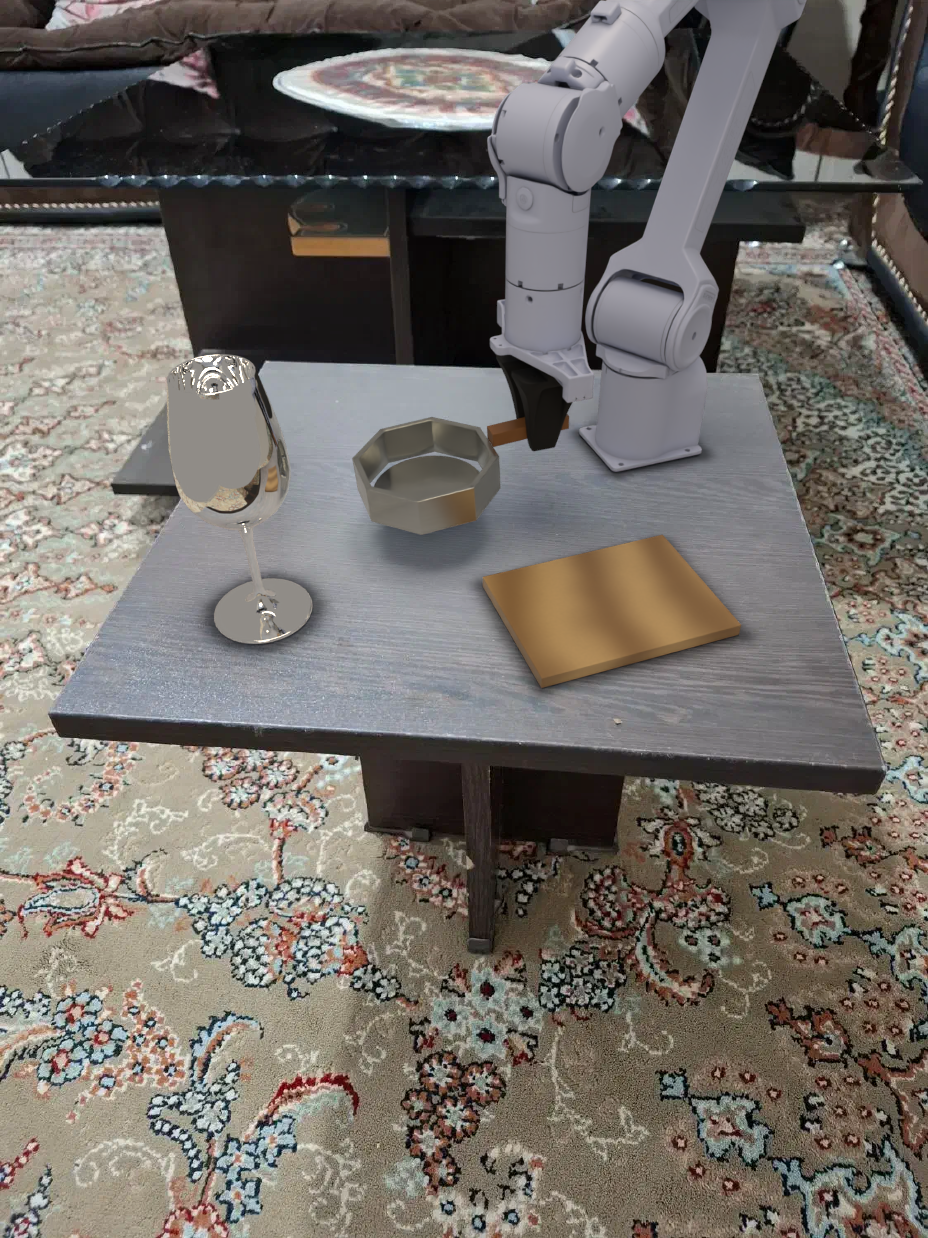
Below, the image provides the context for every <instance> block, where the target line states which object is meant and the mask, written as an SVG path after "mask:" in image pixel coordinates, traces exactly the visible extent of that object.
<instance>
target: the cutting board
mask: <svg viewBox="0 0 928 1238" xmlns="http://www.w3.org/2000/svg"><path fill="white" fill-rule="evenodd" d="M482 588H483V590H484V591H485V593H486V595H487V597H488V598H489V600H490V601H491V603H492V605H493V607H494V608H495V610H496V612H497V614H498V616H499V617H500V619H501V621H502V622H503V625H504V626H505V628H506V630H507V631H508V633H509V635H510V636H511V638H512V640H513V642H514V643H515V645H516V647H517V649H518V650H519V652H520V654H521V655H522V657H523V659H524V661H525V662H526V665H527V666H528V668H529V669H530V671H531V673H532V675H533V677H534V678H535V680H536V681H537V683H538V685H539V687H540V689H543V688H547V687H552V686H554V685H559V684H562V683H565V682H570V681H573V680H577V679H581V678H583V677H587V676H591V675H595V674H598V673H603V672H606V671H610V670H614V669H617V668H621V667H625V666H629V665H631V664H632V665H633V664H636V663H640V662H644V661H647V660H651V659H654V658H658V657H662V656H666V655H669V654H673V653H676V652H680V651H684V650H688V649H691V648H695V647H698V646H703V645H706V644H709V643H714V642H716V641H720V640H725V639H729V638H731V637H735V636H736V637H737V636H739V635H740V631H741V628H742V624H741V623H740V622H739V621H738V619H737V618H736V617H735V616H734V615H733V613H732V612H731V611H730V610H729V609H728V608H727V606H725V605H724V603H723V602H722V601H721V600H720V599H719V597H718V596H717V595H716V594H715V593H714V592H713V591H712V590H711V588H710V587H709V586H708V585H707V584H706V583H705V581H704V580H703V579H702V578H701V577H700V575H698V573H697V572H696V571H695V570H694V569H693V568H692V567H691V565H690V564H689V563H688V562H687V561H686V559H685V558H684V557H683V556H682V555H681V554H680V553H679V551H678V550H677V549H676V548H675V547H674V546H673V545H672V543H671V542H670V541H669V540H668V539H667V537H666V536H664V535H663V534H658V535H655V536H651V537H646V538H642V539H637V540H634V541H629V542H624V543H620V544H617V545H612V546H608V547H603V548H600V549H595V550H591V551H586V552H581V553H579V554H574V555H570V556H565V557H561V558H557V559H553V560H549V561H548V560H547V561H544V562H540V563H535V564H530V565H527V566H523V567H518V568H514V569H510V570H506V571H502V572H498V573H492V574H489V575H484V576H482Z"/></svg>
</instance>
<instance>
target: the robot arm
mask: <svg viewBox="0 0 928 1238" xmlns="http://www.w3.org/2000/svg"><path fill="white" fill-rule="evenodd" d="M807 1H808V0H599V1H598V3H596V5H595V6H594V8H593V9H592V10H591V11H590V16H589V17H588V19H587V20H586V21H585V22H584V24H583V25H582V26H581V27H580V29H578V31H577V33H576V34H575V35H574V36H573V38H571V39H570V41H569V42H568V43H567V45H566V46H565V47H564V48H563V50H562V51H561V52H560V53H559V55H558V56H556V58H555V59H554V60H553V62H552V63H551V64H550V65H549V66H548V68H547V69H546V70H545V72H543V74H542V75H541V76H540V77H539V79H538V80H537V83H536V82H533V81H527V82H522V83H521V84H519V85H517V86H516V87H515V88H514V89H513V90H511V91H509V92H508V93H507V94H506V95H505V96H504V97H503V99H502V100H501V101H500V103H499V105H498V107H497V109H496V111H495V115H494V118H493V120H492V121H493V122H492V127H491V134H490V135H489V136H488V137H487V140H486V142H487V143H486V144H487V152H488V157H489V160H490V164H491V165H492V167H493V170H494V171H495V172H496V176H497V179H498V199H501V203H502V205H504V206H505V207H506V208H505V209H506V211H505V213H506V214H505V217H506V218H505V272H504V273H505V274H504V275H505V282H504V283H505V284H504V285H505V287H504V289H505V290H504V299H498V300H497V301H496V305H497V306H496V323H497V325H498V326H499V327H500V328H501V334H499V335H494V336H491V337H490V338H489V347H490V349H491V350H492V352H493V353H494V354H495V359H496V361H497V363H498V364H499V366H500V368H501V370H502V372H503V375H504V377H505V380H506V382H507V385H508V388H509V390H510V391H509V392H510V396H511V399H512V404H513V408H514V409H513V410H514V412H515V413H514V414H515V419H518V418H522V417H525V424H526V434H527V439H526V440H527V443H528V447H529V449H530V450H531V451H532V452H538V451H539V452H540V451H544V450H549V449H554V448H555V447H556V445H557V443H558V440H559V438H560V436H561V433H562V432H561V431H562V430H561V429H562V426H563V423H564V420H565V418H566V415H567V414H568V413H569V411H570V409H571V406H573V405H572V404H573V403H575V402H582V401H585V400H591V399H593V397H594V386H595V375H596V374H595V373H594V372H593V371H592V369H591V368H590V366H589V365H590V364H589V362H588V357H587V356H588V355H587V351H586V345H585V339H584V334H583V331H582V320H583V308H584V307H583V305H584V292H585V276H586V264H587V263H586V262H587V249H588V239H589V237H588V235H589V225H590V223H589V222H590V211H591V210H590V209H591V208H590V207H591V197H592V196H591V194H592V187H594V185H595V184H596V183H597V182H599V181H600V180H601V179H602V178H603V176H604V174H605V172H606V170H607V168H608V166H609V164H610V160H611V157H612V154H613V150H614V146H615V143H616V141H617V139H618V138H619V136H621V130H622V128H623V125H624V124H623V120H622V119H623V118H624V117H625V115H626V114H627V113H628V112H629V110H630V109H631V108H632V107H633V105H634V104H635V102H636V101H637V100H638V99H639V98H640V96H642V94H643V93H644V91H645V90H646V89H647V87H648V86H649V85H650V84H651V82H652V81H653V80H654V78H655V77H656V76H657V75H658V73H660V71H661V69H662V67H663V64H664V62H665V58H666V43H665V37H667V35H669V33H670V32H671V31H672V30H673V29H674V28H676V26H677V25H678V24H679V23H680V22H681V21H682V19H683V18H684V17H685V16H686V15H688V13H689V12H690V11H691V10H692V9H693V8H694V9H695V10H696V11H697V12H699V14H701V15H702V16H703V17H705V18H706V19H707V20H708V21H709V24H710V29H711V34H710V38H709V41H708V43H707V47H706V49H705V53H704V56H703V59H702V62H701V64H700V67H699V71H698V73H697V76H696V80H695V82H694V85H693V88H692V91H691V94H690V97H689V100H688V103H687V105H686V108H685V112H684V115H683V117H682V120H681V122H680V123H681V124H680V125H679V129H678V132H677V134H676V137H675V140H674V144H673V147H672V150H671V153H670V156H669V158H668V160H667V165H666V168H665V170H664V173H663V176H662V179H661V181H660V185H659V188H658V191H657V193H656V197H655V200H654V202H653V205H652V208H651V211H650V214H649V217H648V219H647V223H646V226H645V229H644V231H643V235H642V237H641V238H639V239H638V240H637V241H635V242H632V243H631V244H629V245H627V246H626V247H623V248H622V249H620V250H618V251H617V252H615V253H613V254H612V255H611V256H610V257H609V259H608V262H607V265H606V267H605V269H604V273H603V274H602V276H601V278H600V280H599V282H598V283H597V284H596V286H595V288H594V289H593V291H592V292H591V294H590V297H589V298H588V301H587V305H586V309H585V317H584V323H585V330H586V334H587V337H588V339H589V340H590V342H591V343H593V344H595V345H596V348H595V356H596V357H598V358H600V359H601V360H602V362H601V373H600V383H599V393H598V403H597V415H596V416H597V417H596V424H593V425H588V426H583V427H580V428H579V429H578V435H580V436H581V437H582V438H583V440H584V441H585V442H586V443H587V444H588V445H589V447H590V448H591V449H592V450H593V451H594V452H595V453H596V455H597V456H598V457H599V458H600V459H601V460H602V461H603V462H604V464H605V465H606V466H607V467H608V468H609V469H610V470H611V471H612V472H617V473H618V472H622V471H626V470H631V469H637V468H641V467H645V466H651V465H656V464H659V463H660V464H661V463H665V462H669V461H675V460H678V459H683V458H687V457H692V456H693V457H694V456H697V455H701V454H702V452H703V448H702V447H701V446H700V444H699V441H700V435H701V431H702V424H703V419H704V414H705V408H706V403H707V397H708V388H709V383H708V382H709V381H708V373H707V369H706V366H705V363H704V361H703V359H702V358H701V354H702V352H703V350H704V349H705V346H706V344H707V342H708V339H709V337H710V333H711V329H712V321H713V314H714V309H715V306H716V303H717V299H718V295H719V292H720V289H719V288H720V287H719V286H718V284H717V281H716V279H715V277H714V276H713V274H712V272H711V270H710V269H709V268H708V266H707V264H706V263H705V260H704V259H703V257H702V255H701V251H702V249H703V247H704V243H705V240H706V237H707V235H708V232H709V229H710V227H711V225H712V221H713V218H714V216H715V213H716V211H717V208H718V204H719V202H720V200H721V199H720V198H721V196H722V194H723V191H724V188H725V185H726V183H727V179H728V177H729V174H730V173H731V170H732V166H733V163H734V160H735V158H736V155H737V153H738V150H739V147H740V144H741V142H742V138H743V136H744V133H745V131H746V128H747V124H748V122H749V119H750V117H751V114H752V112H753V108H754V105H755V103H756V100H757V98H758V95H759V92H760V89H761V87H762V84H763V80H764V79H765V75H766V73H767V70H768V68H769V64H770V61H771V59H772V56H773V53H774V51H775V48H776V46H777V43H778V40H779V38H780V35H781V31H782V30H783V29H784V28H785V27H787V26H789V25H791V24H792V23H794V22H796V21H797V20H799V19H800V18H801V17H802V14H803V12H804V9H805V6H806V3H807ZM645 279H647V280H648V279H649V280H654V281H657V282H661V283H665V284H668V285H672V286H675V287H678V288H681V290H682V292H679V291H677V290H674V289H669V288H666V287H663V286H659V285H655V284H653V283H649V282H645V281H642V280H645Z"/></svg>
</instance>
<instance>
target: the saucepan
mask: <svg viewBox="0 0 928 1238" xmlns="http://www.w3.org/2000/svg"><path fill="white" fill-rule="evenodd" d="M568 429H570V416H569V414H568V413H567V415H566V418H565V420H564V423H563V426H562V429H561V431H565V430H568ZM524 440H527V434H526V424H525V417H522V418H518V419H516V418H515V419H510V420H506V421H502V422H498V423H493V424H490V425H487V426H486V434H485V433H484V431H483V429H482V428H481V427H480V426H477V425H471V424H466V423H462V422H458V421H454V420H449V419H444V418H439V417H436V416H435V417H434V416H430V417H425V418H421V419H416V420H412V421H408V422H404V423H399V424H396V425H395V424H394V425H392V426H388V427H382V428H380V429H378V431H377V432H376V433H375V434H374V435H373V436H372V437H371V438H370V439H369V440H368V441H367V443H365V444H364V445H363V447H362V448H361V449H360V450H359V451H357V452H356V454H355V455H354V456H353V457H352V458H351V460H352V465H353V466H352V467H353V471H354V477H355V483H356V487H357V492H358V495H359V496H360V499H361V500H362V503H363V506H364V507H365V511H366V512H367V514H368V515H367V516H368V517H369V519H370V521H371V522H372V523H376V524H380V525H383V526H387V527H390V528H394V529H397V530H402V531H406V532H408V533H413V534H416V535H421V536H423V535H427V534H431V533H435V532H438V531H442V530H446V529H450V528H454V527H458V526H463V525H465V524H466V525H467V524H469V523H472V522H477V521H478V519H479V518H480V516H481V515H482V514H483V512H484V511H485V510H486V508H488V506H489V504H490V503H491V502H492V501H493V499H494V498H495V496H496V495H497V494H498V493H499V491H500V490H501V466H500V465H501V464H500V455H499V453H498V452H497V451H496V449H495V448H497V447H499V446H504V445H508V444H512V443H516V442H521V441H524ZM432 453H438V454H443V455H428V454H432ZM463 459H464V460H463ZM466 460H467V461H472V462H476V463H478V465H479V467H480V468H481V470H478V469H477V468H476V467H475V466H474V465H473V464H471V463H469V462H467V461H466ZM399 461H400V462H399ZM395 462H397V463H395ZM392 463H395V464H393V465H392V466H390V467H389V468H387V469H386V470H385V471H383V470H384V469H385V468H386V467H387V466H388V465H389V464H392ZM382 471H383V473H381V472H382ZM379 474H380V475H379ZM378 476H379V477H378ZM377 477H378V478H377ZM376 478H377V479H376ZM375 479H376V481H375V483H374V485H371V483H372V482H373V481H374V480H375Z"/></svg>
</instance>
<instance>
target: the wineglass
mask: <svg viewBox="0 0 928 1238" xmlns="http://www.w3.org/2000/svg"><path fill="white" fill-rule="evenodd" d="M166 425H167V439H168V440H167V443H168V445H167V446H168V454H169V455H168V456H169V461H170V468H171V473H172V478H173V482H174V484H175V487H176V490H177V492H178V495H179V498H180V499H181V500H182V502H183V503H184V504H185V506H186V508H188V510H189V511H190V512H191V513H192V514H194V515H195V516H196V517H197V518H199V519H200V520H202V521H203V522H205V523H206V524H209V525H211V526H213V527H218V528H221V529H225V530H228V531H229V530H230V531H238V533H239V535H240V538H241V540H242V544H243V547H244V551H245V554H246V560H247V563H248V568H249V572H250V577H251V580H250V581H247V582H245V583H242V584H239V585H238V586H236V587H234V588H232V589H231V590H229V591H228V592H227V593H225V594H224V595H223V596H222V597H221V599H220V600H219V601H218V602H217V604H216V606H215V609H214V611H213V612H214V613H213V622H214V624H215V627H216V629H217V630H218V632H220V634H222V635H223V636H224V637H226V638H227V639H229V640H231V641H234V642H236V643H240V644H247V645H262V644H269V643H273V642H277V641H281V640H283V639H285V638H287V637H289V636H292V634H294V633H296V632H298V631H299V630H300V629H301V628H302V627H303V626H305V624H306V623H308V622H307V621H308V620H309V619H310V617H311V614H312V612H313V606H314V605H313V599H312V597H311V595H310V593H309V592H308V591H307V589H306V588H305V587H304V586H302V585H300V584H299V583H296V582H294V581H291V580H288V579H284V578H276V577H275V578H273V577H271V578H270V577H269V578H268V577H267V578H262V576H261V575H262V574H261V570H260V565H259V562H258V556H257V552H256V547H255V541H254V527H257V526H259V525H261V524H263V523H264V522H266V521H267V520H269V519H270V518H271V517H272V516H273V515H275V514H276V512H278V511H279V510H280V508H281V506H282V504H283V502H284V501H285V499H286V497H287V496H288V493H289V490H290V489H289V488H290V484H291V480H292V470H291V462H290V461H291V459H290V455H289V450H288V447H287V444H286V443H287V442H286V439H285V437H284V434H283V431H282V427H281V426H280V423H279V420H278V417H277V414H276V412H275V409H274V407H273V405H272V402H271V401H270V397H269V395H268V393H267V391H266V389H265V387H264V383H263V382H262V380H261V377H260V375H259V372H258V370H257V368H256V366H255V364H254V363H253V362H252V361H250V360H249V359H247V358H245V357H243V356H240V355H234V354H228V353H227V354H226V353H221V354H220V353H219V354H218V353H216V354H215V353H214V354H207V355H201V356H197V357H193V358H190V359H188V360H184V361H183V362H181V363H179V364H177V365H176V366H174V367H173V368H172V369H171V370H170V371H169V372H168V374H167V376H166Z"/></svg>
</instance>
